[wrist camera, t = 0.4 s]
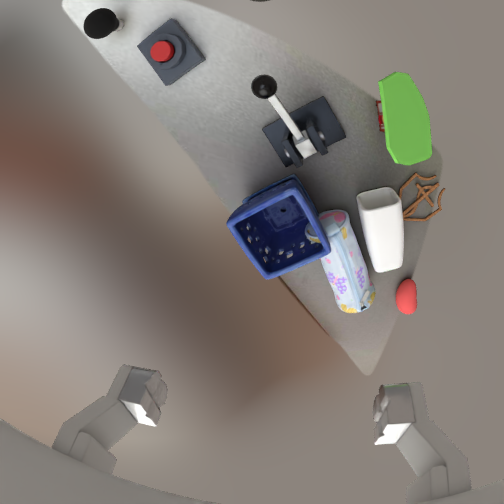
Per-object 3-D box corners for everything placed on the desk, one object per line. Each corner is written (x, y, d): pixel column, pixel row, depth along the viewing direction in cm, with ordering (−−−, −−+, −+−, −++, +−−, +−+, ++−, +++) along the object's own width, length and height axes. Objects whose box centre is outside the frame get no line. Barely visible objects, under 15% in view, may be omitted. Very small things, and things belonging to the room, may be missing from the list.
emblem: (452, 200, 52) (451, 198, 52) (427, 163, 49) (426, 161, 49) (409, 236, 58) (408, 234, 58) (380, 202, 55) (380, 201, 55)
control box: (142, 46, 45) (131, 45, 42) (175, 19, 42) (167, 16, 39) (170, 85, 49) (161, 86, 46) (205, 59, 46) (198, 59, 43)
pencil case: (373, 281, 65) (380, 311, 57) (337, 293, 68) (339, 323, 60) (344, 199, 56) (350, 222, 48) (301, 214, 59) (301, 240, 51)
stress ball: (423, 301, 57) (398, 289, 60) (409, 323, 64) (386, 312, 67) (429, 284, 60) (404, 272, 63) (415, 306, 67) (393, 296, 70)
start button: (151, 50, 42) (146, 50, 41) (167, 37, 41) (162, 36, 40) (162, 65, 44) (157, 65, 42) (178, 52, 42) (174, 52, 41)
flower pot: (330, 220, 59) (335, 254, 49) (271, 246, 65) (264, 283, 55) (297, 161, 54) (296, 185, 44) (236, 194, 59) (221, 223, 49)
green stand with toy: (379, 69, 35) (346, 74, 40) (391, 171, 41) (359, 167, 46) (424, 76, 42) (395, 78, 47) (432, 157, 48) (404, 154, 53)
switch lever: (245, 79, 35) (247, 89, 33) (266, 66, 34) (270, 75, 32) (297, 149, 45) (301, 162, 43) (316, 139, 44) (321, 152, 42)
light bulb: (124, 6, 40) (94, 0, 32) (139, 24, 43) (110, 20, 34) (103, 26, 43) (72, 25, 34) (117, 45, 45) (86, 45, 37)
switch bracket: (262, 128, 52) (252, 143, 42) (323, 95, 47) (329, 102, 37) (286, 165, 55) (281, 189, 45) (345, 135, 50) (356, 153, 40)
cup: (373, 279, 57) (363, 212, 49) (365, 257, 63) (354, 194, 55) (408, 270, 55) (403, 202, 47) (397, 248, 61) (390, 185, 53)
